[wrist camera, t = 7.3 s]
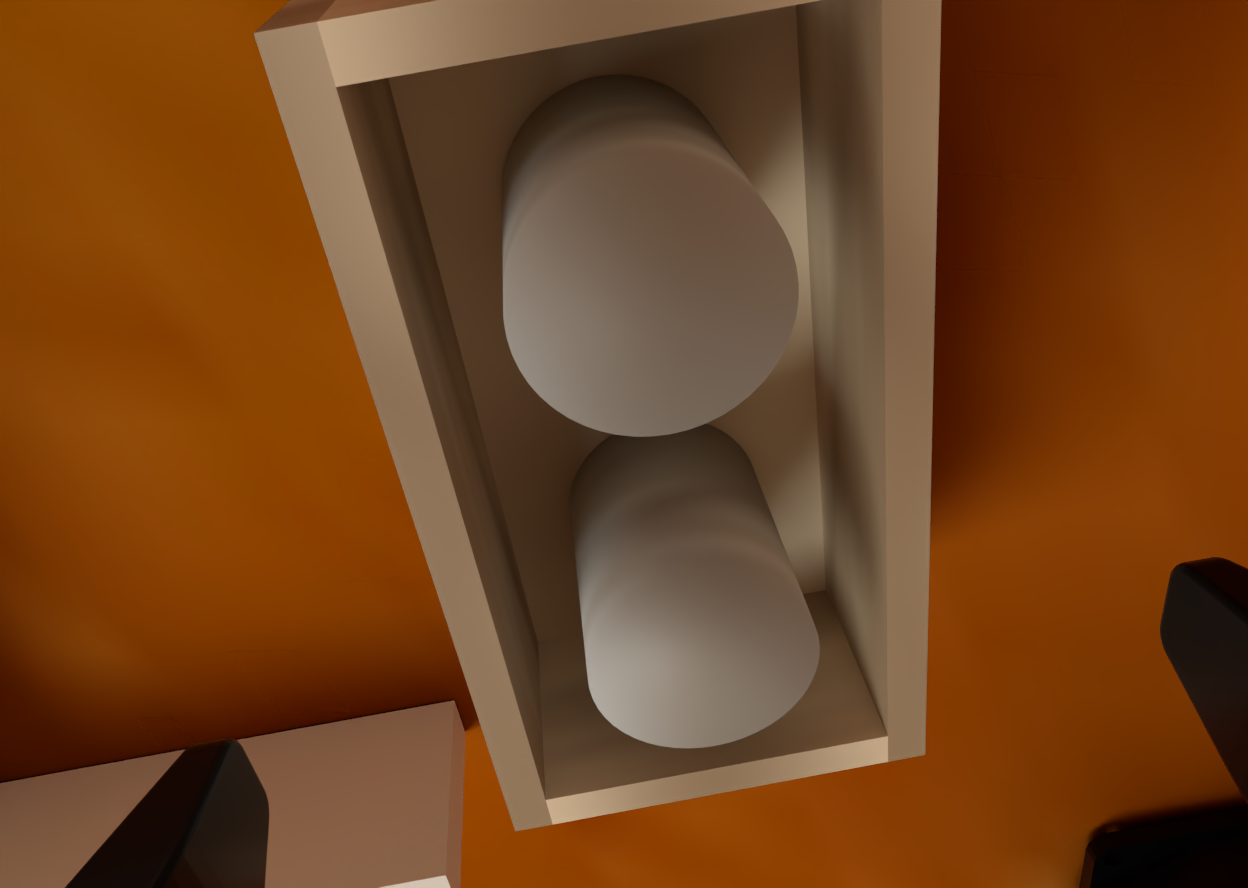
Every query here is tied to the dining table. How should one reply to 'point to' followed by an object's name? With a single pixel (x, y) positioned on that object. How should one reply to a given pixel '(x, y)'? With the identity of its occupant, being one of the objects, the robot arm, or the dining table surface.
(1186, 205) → the dining table surface
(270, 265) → the dining table surface
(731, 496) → the crate with rolls
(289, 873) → the beige u-shaped block
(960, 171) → the dining table surface
